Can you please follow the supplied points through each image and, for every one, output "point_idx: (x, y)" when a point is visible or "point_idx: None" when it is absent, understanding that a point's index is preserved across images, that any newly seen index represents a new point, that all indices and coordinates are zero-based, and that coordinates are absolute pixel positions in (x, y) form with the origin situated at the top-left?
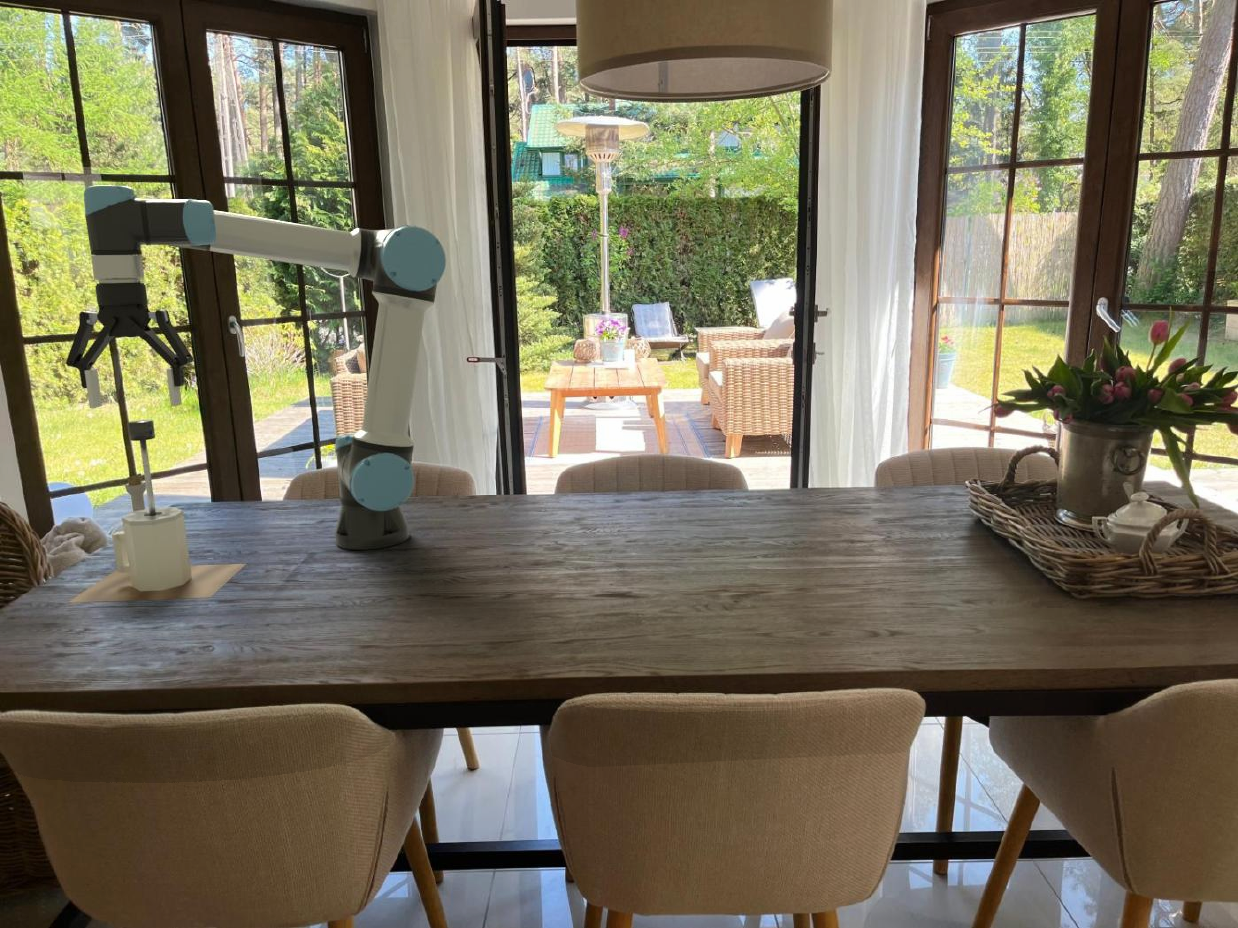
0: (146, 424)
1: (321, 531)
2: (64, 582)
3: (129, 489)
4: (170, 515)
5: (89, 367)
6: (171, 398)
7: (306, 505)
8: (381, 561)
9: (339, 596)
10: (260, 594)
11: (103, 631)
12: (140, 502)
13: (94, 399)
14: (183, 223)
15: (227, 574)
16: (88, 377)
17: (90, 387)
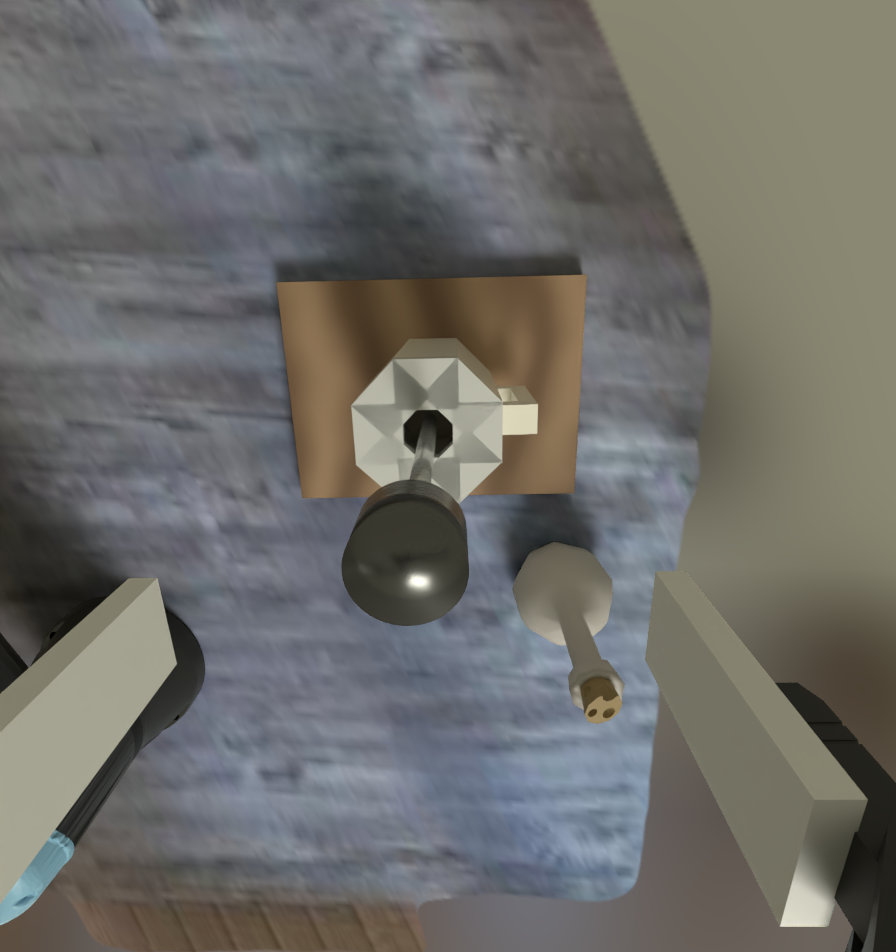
0: (354, 532)
1: (265, 716)
2: (672, 457)
3: (603, 664)
4: (366, 412)
5: (855, 904)
6: (115, 609)
7: (371, 869)
8: (46, 526)
9: (28, 316)
10: (208, 344)
11: (446, 136)
12: (574, 649)
13: (676, 621)
14: None
15: (311, 431)
16: (785, 735)
17: (729, 666)
